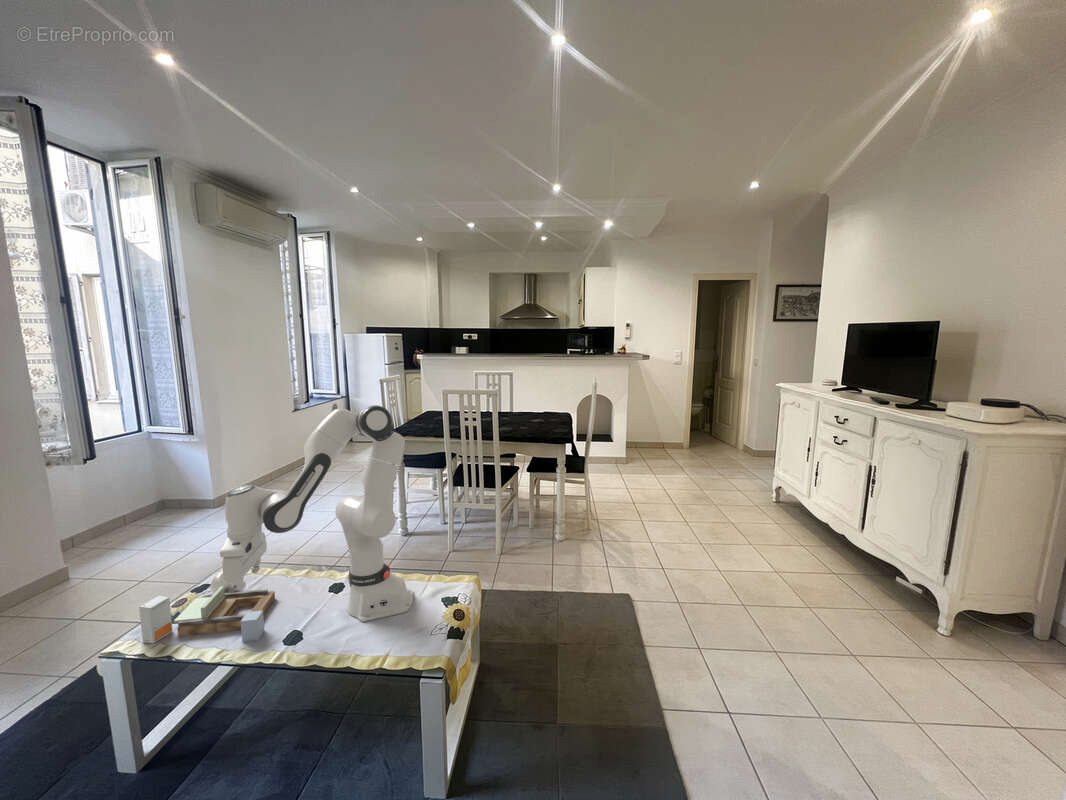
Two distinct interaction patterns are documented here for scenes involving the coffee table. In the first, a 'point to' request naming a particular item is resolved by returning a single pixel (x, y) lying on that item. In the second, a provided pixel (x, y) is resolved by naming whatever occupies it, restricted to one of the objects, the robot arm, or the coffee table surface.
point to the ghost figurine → (222, 584)
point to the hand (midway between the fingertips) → (248, 580)
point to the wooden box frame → (228, 612)
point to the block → (252, 626)
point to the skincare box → (155, 619)
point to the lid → (202, 607)
